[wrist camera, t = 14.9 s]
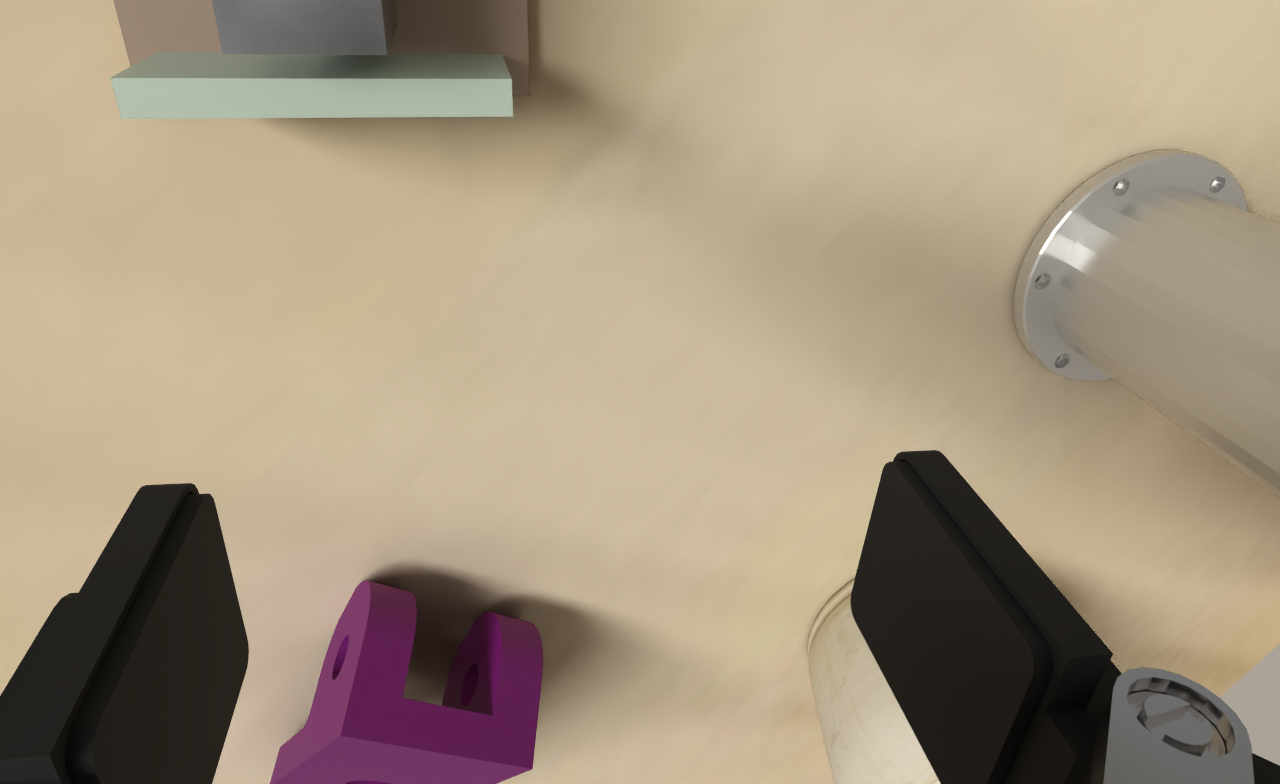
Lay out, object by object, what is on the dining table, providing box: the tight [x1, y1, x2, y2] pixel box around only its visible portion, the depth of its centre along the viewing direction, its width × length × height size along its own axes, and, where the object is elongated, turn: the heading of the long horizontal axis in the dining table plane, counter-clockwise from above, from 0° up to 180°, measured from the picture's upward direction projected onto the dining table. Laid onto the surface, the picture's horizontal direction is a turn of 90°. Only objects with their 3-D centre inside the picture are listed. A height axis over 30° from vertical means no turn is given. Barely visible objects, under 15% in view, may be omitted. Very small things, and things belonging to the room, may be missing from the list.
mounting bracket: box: [270, 580, 543, 784], centre depth 47 cm, size 10×8×18 cm
